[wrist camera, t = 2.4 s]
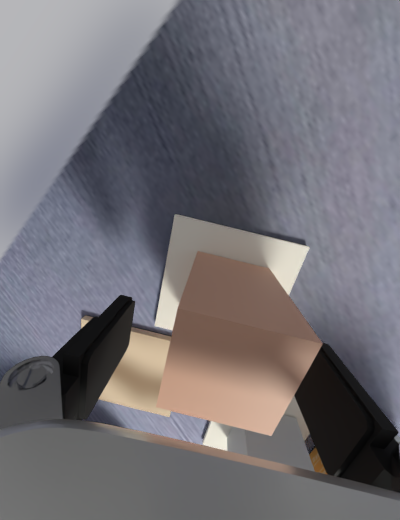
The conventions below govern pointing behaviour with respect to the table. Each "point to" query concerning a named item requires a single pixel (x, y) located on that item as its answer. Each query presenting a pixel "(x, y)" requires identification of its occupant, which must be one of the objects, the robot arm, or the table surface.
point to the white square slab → (224, 245)
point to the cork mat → (138, 371)
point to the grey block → (273, 444)
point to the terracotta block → (236, 347)
